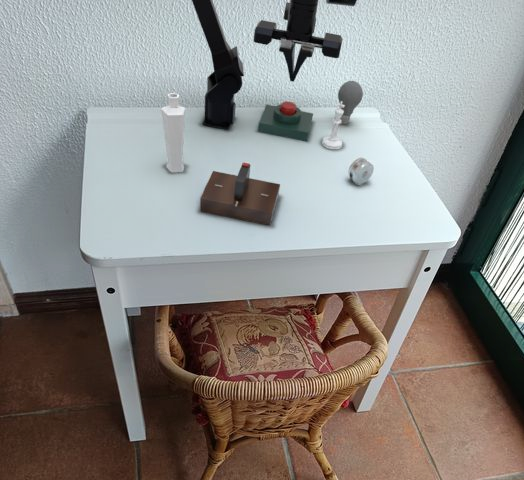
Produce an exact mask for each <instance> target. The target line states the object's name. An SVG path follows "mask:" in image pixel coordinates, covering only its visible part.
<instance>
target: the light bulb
mask: <svg viewBox="0 0 524 480" xmlns="http://www.w3.org/2000/svg"><path fill="white" fill-rule="evenodd" d="M363 96H364V91H363V88H362V85H361V84H360V83H359V82H357V81H355V80H347V81H345V82H344V83H343V84H342V85H341V86H340V87H339V89H338V92H337V100H338V104H340V102H342V105H345V106H344V108H342V107H341V109H342V110H343V111H344V113H343V115H342V116H341V118H340V120H341V121H342V123H341V124H343V125H345V124H349V123H350V119H351V116H352V114H354V110H356V108H357V107H358V105H360V104H361V102H362V100H363Z"/></svg>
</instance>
